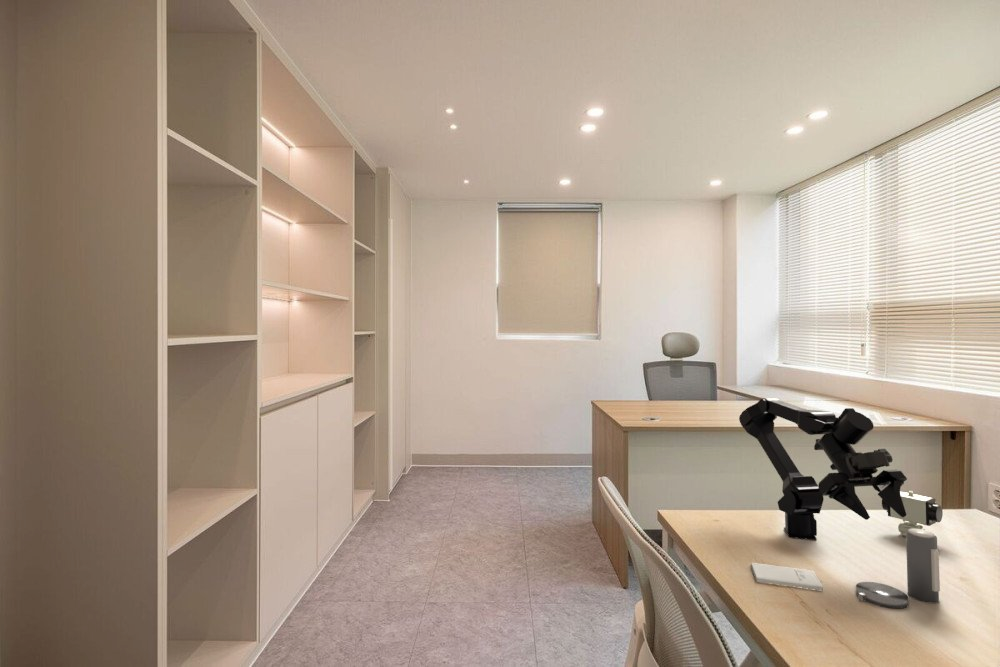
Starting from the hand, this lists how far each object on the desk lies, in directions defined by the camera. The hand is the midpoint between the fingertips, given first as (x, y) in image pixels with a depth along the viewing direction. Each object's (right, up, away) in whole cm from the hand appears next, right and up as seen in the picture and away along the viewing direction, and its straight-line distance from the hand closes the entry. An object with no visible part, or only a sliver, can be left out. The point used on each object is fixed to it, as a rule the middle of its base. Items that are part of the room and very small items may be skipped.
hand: (886, 517), depth 108 cm
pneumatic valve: (+25, -14, +23) cm, 37 cm away
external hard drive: (-22, -14, 0) cm, 26 cm away
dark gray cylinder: (+1, -13, -8) cm, 15 cm away
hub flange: (-7, -13, -8) cm, 17 cm away
